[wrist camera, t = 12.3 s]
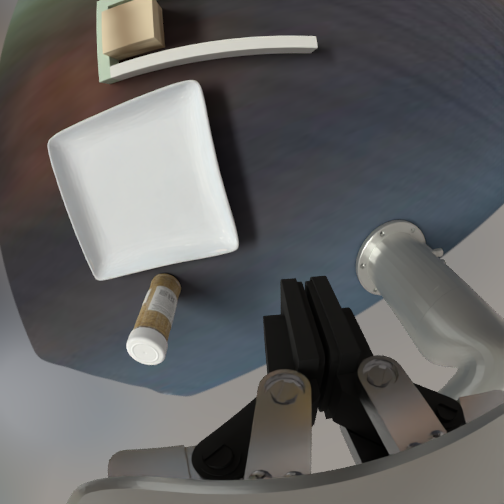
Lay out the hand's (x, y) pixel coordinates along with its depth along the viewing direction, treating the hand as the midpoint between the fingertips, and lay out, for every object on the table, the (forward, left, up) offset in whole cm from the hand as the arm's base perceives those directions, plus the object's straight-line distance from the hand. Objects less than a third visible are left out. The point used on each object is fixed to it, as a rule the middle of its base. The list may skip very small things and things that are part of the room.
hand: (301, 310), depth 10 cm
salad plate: (+14, -1, -26) cm, 30 cm away
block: (+12, -21, -26) cm, 35 cm away
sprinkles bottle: (+14, +14, -26) cm, 32 cm away
